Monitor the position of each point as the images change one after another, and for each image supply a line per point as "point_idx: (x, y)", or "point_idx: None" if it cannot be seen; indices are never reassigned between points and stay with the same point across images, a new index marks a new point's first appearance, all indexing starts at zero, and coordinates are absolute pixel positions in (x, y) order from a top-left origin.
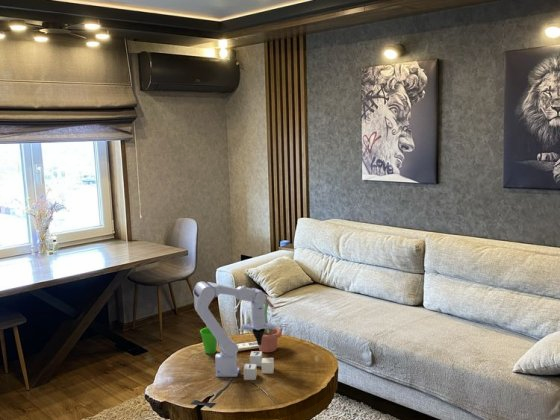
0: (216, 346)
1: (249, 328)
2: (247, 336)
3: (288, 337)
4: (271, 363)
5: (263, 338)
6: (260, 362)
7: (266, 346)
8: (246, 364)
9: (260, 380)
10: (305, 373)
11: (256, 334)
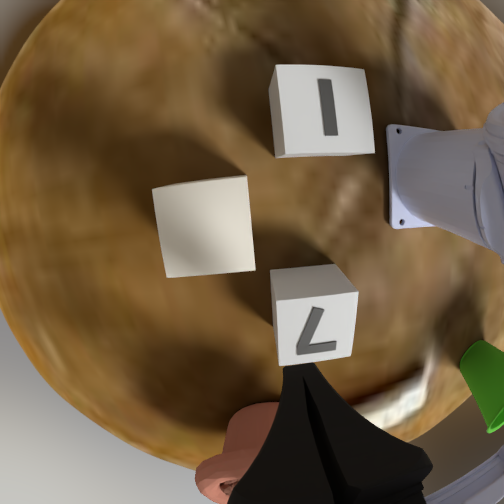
0: (468, 374)
1: (460, 489)
2: None
3: None
4: (161, 187)
5: None
6: (276, 279)
7: (268, 422)
8: (363, 144)
9: (235, 84)
10: (34, 212)
11: (364, 454)
